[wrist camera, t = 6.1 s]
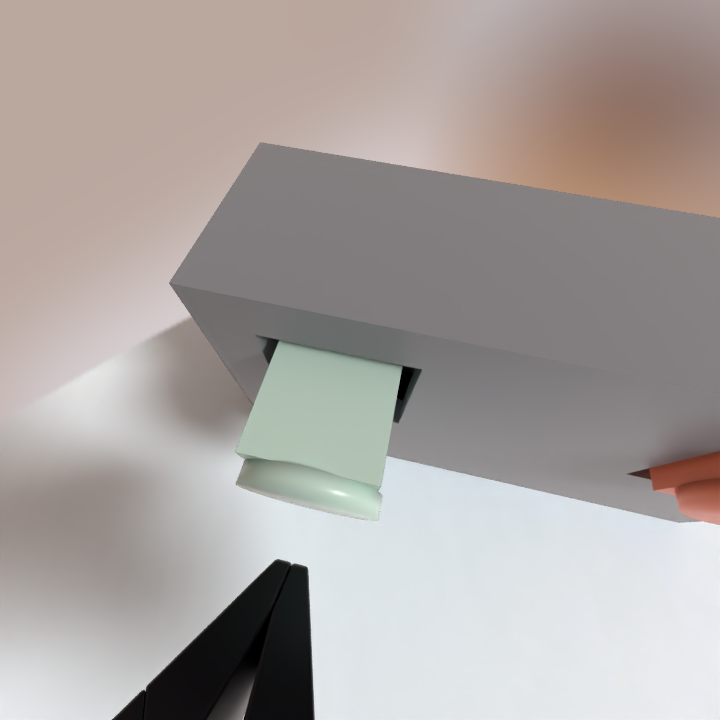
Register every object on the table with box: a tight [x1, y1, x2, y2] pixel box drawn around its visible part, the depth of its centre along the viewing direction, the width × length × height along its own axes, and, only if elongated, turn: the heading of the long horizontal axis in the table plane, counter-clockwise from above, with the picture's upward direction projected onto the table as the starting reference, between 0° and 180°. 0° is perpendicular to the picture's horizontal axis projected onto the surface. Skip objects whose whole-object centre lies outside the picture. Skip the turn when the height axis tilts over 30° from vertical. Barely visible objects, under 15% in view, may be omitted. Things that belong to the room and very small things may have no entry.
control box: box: [170, 143, 720, 523], centre depth 14 cm, size 6×21×12 cm, turn 78°
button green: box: [235, 340, 403, 521], centre depth 10 cm, size 5×4×4 cm
